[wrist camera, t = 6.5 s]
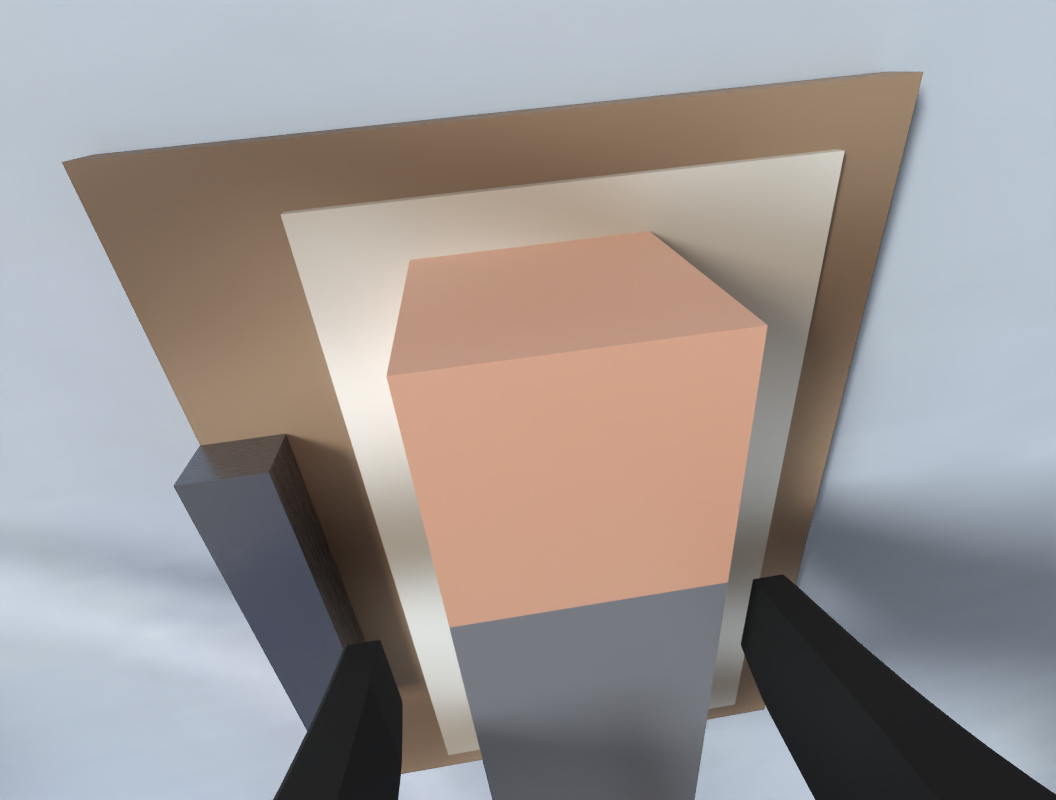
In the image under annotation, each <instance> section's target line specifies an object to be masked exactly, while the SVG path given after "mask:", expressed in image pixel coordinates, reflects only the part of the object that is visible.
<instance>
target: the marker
mask: <svg viewBox="0 0 1056 800" xmlns="http://www.w3.org/2000/svg"><path fill="white" fill-rule="evenodd" d="M767 327H768V325H767V324H765V323H764V322H763V321H762V320H760V319H759V318H758V317H757V316H755V315H754V314H753V313H752V312H750V311H749V310H748V309H747V308H745V307H744V306H743V305H742V304H740V303H739V302H738V301H737V300H735V299H734V298H733V297H732V296H730V295H729V294H728V293H726V292H725V291H724V290H723V289H721V288H720V287H719V286H718V285H716V284H715V283H714V282H713V281H711V280H710V279H709V278H708V277H706V276H705V275H704V274H703V273H701V272H700V271H699V270H698V269H696V268H695V267H694V266H693V265H691V264H690V263H689V262H688V261H686V260H685V259H684V258H683V257H681V256H680V255H679V254H678V253H676V252H675V251H674V250H673V249H671V248H670V247H669V246H668V245H666V244H665V243H664V242H663V241H661V240H660V239H659V238H657V237H656V236H655V235H654V234H652V233H651V232H650V231H645V232H637V233H629V234H620V235H612V236H604V237H596V238H587V239H579V240H571V241H562V242H554V243H546V244H537V245H529V246H521V247H513V248H504V249H496V250H488V251H479V252H471V253H463V254H455V255H446V256H438V257H430V258H421V259H413V260H410V261H409V266H408V271H407V276H406V281H405V286H404V291H403V296H402V301H401V306H400V311H399V316H398V321H397V326H396V331H395V336H394V341H393V346H392V351H391V356H390V361H389V365H388V370H387V375H386V377H387V381H388V385H389V389H390V393H391V397H392V401H393V405H394V409H395V413H396V417H397V421H398V425H399V429H400V433H401V437H402V441H403V445H404V449H405V453H406V457H407V461H408V465H409V469H410V473H411V477H412V481H413V485H414V488H415V492H416V496H417V500H418V504H419V508H420V512H421V516H422V520H423V524H424V528H425V532H426V536H427V540H428V544H429V548H430V552H431V556H432V560H433V564H434V568H435V572H436V576H437V580H438V584H439V588H440V592H441V596H442V600H443V604H444V608H445V612H446V616H447V620H448V624H449V628H450V632H451V636H452V640H453V644H454V648H455V652H456V656H457V660H458V664H459V668H460V672H461V676H462V680H463V684H464V688H465V692H466V696H467V700H468V704H469V708H470V712H471V716H472V720H473V724H474V728H475V732H476V736H477V740H478V744H479V748H480V752H481V756H482V760H483V764H484V768H485V772H486V776H487V780H488V784H489V788H490V792H491V796H492V800H694V799H695V793H696V786H697V780H698V773H699V767H700V760H701V754H702V747H703V741H704V734H705V728H706V721H707V715H708V708H709V702H710V695H711V689H712V683H713V676H714V670H715V663H716V657H717V650H718V644H719V637H720V631H721V624H722V618H723V611H724V605H725V598H726V592H727V585H728V579H729V573H730V566H731V560H732V553H733V547H734V540H735V534H736V527H737V521H738V514H739V508H740V501H741V495H742V488H743V482H744V475H745V469H746V463H747V456H748V450H749V443H750V437H751V430H752V424H753V417H754V411H755V404H756V398H757V391H758V385H759V378H760V372H761V365H762V359H763V353H764V346H765V340H766V333H767Z"/></svg>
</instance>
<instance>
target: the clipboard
mask: <svg viewBox="0 0 1056 800" xmlns="http://www.w3.org/2000/svg"><path fill="white" fill-rule="evenodd" d="M922 75H923V72H881V73H871V74H862V75H852V76H842V77H833V78H823V79H814V80H804V81H795V82H785V83H775V84H766V85H756V86H747V87H737V88H728V89H718V90H708V91H699V92H689V93H680V94H670V95H661V96H651V97H641V98H632V99H622V100H613V101H603V102H594V103H584V104H575V105H565V106H555V107H546V108H536V109H527V110H517V111H508V112H498V113H488V114H479V115H469V116H460V117H450V118H441V119H431V120H421V121H412V122H402V123H393V124H383V125H374V126H364V127H354V128H345V129H335V130H326V131H316V132H307V133H297V134H287V135H278V136H268V137H259V138H249V139H240V140H230V141H221V142H211V143H201V144H192V145H182V146H173V147H163V148H154V149H144V150H134V151H125V152H115V153H106V154H96V155H90V156H86V157H82V158H77V159H73V160H69V161H65V162H62V163H63V165H64V168H65V170H66V172H67V174H68V176H69V178H70V180H71V182H72V184H73V186H74V188H75V190H76V192H77V194H78V196H79V198H80V200H81V202H82V204H83V206H84V208H85V211H86V213H87V215H88V217H89V219H90V221H91V223H92V225H93V227H94V229H95V231H96V233H97V235H98V237H99V239H100V241H101V243H102V245H103V247H104V249H105V251H106V253H107V256H108V258H109V260H110V262H111V264H112V266H113V268H114V270H115V272H116V274H117V276H118V278H119V280H120V282H121V284H122V286H123V288H124V290H125V292H126V294H127V296H128V298H129V301H130V303H131V305H132V307H133V309H134V311H135V313H136V315H137V317H138V319H139V321H140V323H141V325H142V327H143V329H144V331H145V333H146V335H147V337H148V339H149V341H150V343H151V346H152V348H153V350H154V352H155V354H156V356H157V358H158V360H159V362H160V364H161V366H162V368H163V370H164V372H165V374H166V376H167V378H168V380H169V382H170V384H171V386H172V389H173V391H174V393H175V395H176V397H177V399H178V401H179V403H180V405H181V407H182V409H183V411H184V413H185V415H186V417H187V419H188V421H189V423H190V425H191V427H192V429H193V431H194V434H195V436H196V438H197V440H198V442H199V444H200V447H199V448H198V450H197V451H196V453H195V454H194V456H193V457H192V459H191V460H190V462H189V463H188V465H187V466H186V468H185V469H184V471H183V472H182V474H181V475H180V477H179V478H178V480H177V481H176V483H175V484H174V488H175V490H176V492H177V493H178V495H179V497H180V499H181V501H182V503H183V504H184V506H185V508H186V510H187V512H188V514H189V515H190V517H191V519H192V521H193V523H194V524H195V526H196V528H197V530H198V532H199V534H200V535H201V537H202V539H203V541H204V543H205V545H206V546H207V548H208V550H209V552H210V554H211V556H212V557H213V559H214V561H215V563H216V565H217V567H218V568H219V570H220V572H221V574H222V576H223V578H224V579H225V581H226V583H227V585H228V587H229V589H230V590H231V592H232V594H233V596H234V598H235V600H236V601H237V603H238V605H239V607H240V609H241V611H242V612H243V614H244V616H245V618H246V620H247V622H248V623H249V625H250V627H251V629H252V631H253V633H254V634H255V636H256V638H257V640H258V642H259V643H260V645H261V647H262V649H263V651H264V653H265V654H266V656H267V658H268V660H269V662H270V664H271V665H272V667H273V669H274V671H275V673H276V675H277V676H278V678H279V680H280V682H281V684H282V686H283V687H284V689H285V691H286V693H287V695H288V697H289V698H290V700H291V702H292V704H293V706H294V708H295V709H296V711H297V713H298V715H299V717H300V719H301V720H302V722H303V724H304V726H305V728H306V730H307V731H308V729H309V727H310V725H311V723H312V720H313V718H314V716H315V714H316V712H317V710H318V707H319V705H320V703H321V701H322V698H323V696H324V694H325V692H326V689H327V687H328V685H329V682H330V680H331V678H332V675H333V673H334V671H335V668H336V666H337V663H338V661H339V658H340V656H341V653H342V651H343V649H344V648H345V647H346V646H347V645H352V644H358V643H364V642H370V641H377V640H380V641H381V643H382V646H383V649H384V652H385V654H386V657H387V660H388V663H389V666H390V668H391V671H392V674H393V677H394V679H395V682H396V685H397V688H398V691H399V693H400V696H401V699H402V702H403V732H402V767H401V774H404V773H410V772H416V771H421V770H427V769H432V768H438V767H444V766H449V765H455V764H460V763H466V762H472V761H477V760H482V756H481V752H480V748H479V744H478V740H477V736H476V732H475V728H474V724H473V720H472V716H471V712H470V708H469V704H468V700H467V696H466V692H465V688H464V684H463V680H462V676H461V672H460V668H459V664H458V660H457V656H456V652H455V648H454V644H453V640H452V636H451V632H450V628H449V624H448V620H447V616H446V612H445V608H444V604H443V600H442V596H441V592H440V588H439V584H438V580H437V576H436V572H435V568H434V564H433V560H432V556H431V552H430V548H429V544H428V540H427V536H426V532H425V528H424V524H423V520H422V516H421V512H420V508H419V504H418V500H417V496H416V492H415V488H414V485H413V481H412V477H411V473H410V469H409V465H408V461H407V457H406V453H405V449H404V445H403V441H402V437H401V433H400V429H399V425H398V421H397V417H396V413H395V409H394V405H393V401H392V397H391V393H390V389H389V385H388V381H387V377H386V375H387V370H388V365H389V361H390V356H391V351H392V346H393V341H394V336H395V331H396V326H397V321H398V316H399V311H400V306H401V301H402V296H403V291H404V286H405V281H406V276H407V271H408V266H409V261H410V260H413V259H421V258H430V257H438V256H446V255H455V254H463V253H471V252H479V251H488V250H496V249H504V248H513V247H521V246H529V245H537V244H546V243H554V242H562V241H571V240H579V239H587V238H596V237H604V236H612V235H620V234H629V233H637V232H645V231H650V232H651V233H652V234H654V235H655V236H656V237H657V238H659V239H660V240H661V241H663V242H664V243H665V244H666V245H668V246H669V247H670V248H671V249H673V250H674V251H675V252H676V253H678V254H679V255H680V256H681V257H683V258H684V259H685V260H686V261H688V262H689V263H690V264H691V265H693V266H694V267H695V268H696V269H698V270H699V271H700V272H701V273H703V274H704V275H705V276H706V277H708V278H709V279H710V280H711V281H713V282H714V283H715V284H716V285H718V286H719V287H720V288H721V289H723V290H724V291H725V292H726V293H728V294H729V295H730V296H732V297H733V298H734V299H735V300H737V301H738V302H739V303H740V304H742V305H743V306H744V307H745V308H747V309H748V310H749V311H750V312H752V313H753V314H754V315H755V316H757V317H758V318H759V319H760V320H762V321H763V322H764V323H765V324H767V325H768V327H767V333H766V340H765V346H764V353H763V359H762V365H761V372H760V378H759V385H758V391H757V398H756V404H755V411H754V417H753V424H752V430H751V437H750V443H749V450H748V456H747V463H746V469H745V475H744V482H743V488H742V495H741V501H740V508H739V514H738V521H737V527H736V534H735V540H734V547H733V553H732V560H731V566H730V573H729V579H728V585H727V592H726V598H725V605H724V611H723V618H722V624H721V631H720V637H719V644H718V650H717V657H716V663H715V670H714V676H713V683H712V689H711V695H710V702H709V708H708V715H707V719H713V718H718V717H724V716H730V715H735V714H741V713H746V712H752V711H758V710H763V709H764V708H765V703H764V701H763V699H762V697H761V695H760V692H759V690H758V687H757V685H756V683H755V680H754V678H753V675H752V673H751V670H750V668H749V665H748V663H747V660H746V657H745V655H744V652H743V650H742V647H741V640H742V635H743V629H744V624H745V619H746V613H747V608H748V603H749V598H750V592H751V587H752V582H753V579H757V578H764V577H770V576H776V575H782V574H783V575H785V576H786V577H787V578H788V579H789V580H791V581H792V582H793V583H794V584H795V583H796V579H797V575H798V571H799V567H800V563H801V559H802V555H803V551H804V547H805V543H806V539H807V535H808V531H809V527H810V523H811V519H812V515H813V511H814V507H815V503H816V499H817V495H818V491H819V487H820V483H821V479H822V475H823V471H824V467H825V463H826V459H827V455H828V451H829V447H830V443H831V439H832V435H833V431H834V427H835V423H836V419H837V415H838V411H839V407H840V403H841V399H842V395H843V391H844V387H845V383H846V379H847V375H848V371H849V367H850V363H851V359H852V355H853V351H854V347H855V343H856V339H857V335H858V331H859V327H860V323H861V319H862V315H863V311H864V307H865V303H866V299H867V295H868V291H869V287H870V283H871V279H872V275H873V271H874V267H875V263H876V259H877V255H878V251H879V247H880V243H881V239H882V235H883V231H884V227H885V223H886V219H887V215H888V211H889V207H890V203H891V199H892V195H893V191H894V187H895V183H896V179H897V175H898V171H899V167H900V163H901V159H902V155H903V151H904V147H905V143H906V139H907V135H908V131H909V127H910V123H911V119H912V115H913V111H914V107H915V103H916V99H917V95H918V91H919V87H920V83H921V79H922Z"/></svg>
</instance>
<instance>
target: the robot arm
mask: <svg viewBox="0 0 1056 800" xmlns="http://www.w3.org/2000/svg"><path fill="white" fill-rule="evenodd" d="M741 647H742V650H743V652H744V655H745V657H746V660H747V663H748V665H749V668H750V670H751V673H752V675H753V678H754V680H755V683H756V685H757V687H758V690H759V692H760V695H761V697H762V699H763V701H764V703H765V705H766V707H767V709H768V711H769V713H770V715H771V717H772V719H773V721H774V723H775V725H776V726H777V728H778V730H779V732H780V734H781V736H782V738H783V740H784V742H785V744H786V745H787V747H788V749H789V751H790V753H791V755H792V757H793V759H794V761H795V762H796V764H797V766H798V768H799V770H800V772H801V774H802V776H803V777H804V779H805V781H806V783H807V785H808V787H809V789H810V791H811V792H812V794H813V796H814V798H815V800H1056V794H1054V793H1053V792H1051V791H1050V790H1048V789H1047V788H1046V787H1044V786H1043V785H1041V784H1040V783H1038V782H1037V781H1035V780H1034V779H1032V778H1031V777H1030V776H1028V775H1027V774H1025V773H1024V772H1023V771H1021V770H1020V769H1018V768H1017V767H1016V766H1014V765H1013V764H1011V763H1010V762H1009V761H1007V760H1006V759H1004V758H1003V757H1002V756H1000V755H999V754H998V753H996V752H995V751H993V750H992V749H991V748H989V747H988V746H987V745H985V744H984V743H983V742H981V741H980V740H979V739H977V738H976V737H975V736H973V735H972V734H971V733H969V732H968V731H967V730H965V729H964V728H963V727H962V726H960V725H959V724H958V723H956V722H955V721H954V720H953V719H951V718H950V717H949V716H947V715H946V714H945V713H944V712H942V711H941V710H940V709H939V708H937V707H936V706H935V705H934V704H932V703H931V702H930V701H928V700H927V699H926V698H925V697H924V696H922V695H921V694H920V693H919V692H917V691H916V690H915V689H914V688H912V687H911V686H910V685H909V684H908V683H906V682H905V681H904V680H903V679H902V678H900V677H899V676H898V675H897V674H896V673H895V672H893V671H892V670H891V669H890V668H889V667H887V666H886V665H885V664H884V663H883V662H882V661H880V660H879V659H878V658H877V657H876V656H874V655H873V654H872V653H871V652H870V651H869V650H867V649H866V648H865V647H864V646H863V645H862V644H861V643H859V642H858V641H857V640H856V639H855V638H854V637H853V636H851V635H850V634H849V633H848V632H847V631H846V630H845V629H844V628H842V627H841V626H840V625H839V624H838V623H837V622H836V621H835V620H834V619H832V618H831V617H830V616H829V615H828V614H827V613H826V612H825V611H824V610H822V609H821V608H820V607H819V606H818V605H817V604H816V603H815V602H814V601H813V600H811V599H810V598H809V597H808V596H807V595H806V594H805V593H804V592H803V591H802V590H801V589H799V588H798V587H797V586H796V585H795V584H794V583H793V582H792V581H791V580H789V579H788V578H787V577H786V576H785V575H783V574H782V575H776V576H770V577H764V578H757V579H753V582H752V587H751V592H750V598H749V603H748V608H747V613H746V619H745V624H744V629H743V635H742V640H741ZM402 732H403V702H402V699H401V696H400V693H399V691H398V688H397V685H396V682H395V679H394V677H393V674H392V671H391V668H390V666H389V663H388V660H387V657H386V654H385V652H384V649H383V646H382V643H381V641H380V640H377V641H370V642H364V643H358V644H352V645H347V646H346V647H345V648H344V649H343V651H342V653H341V656H340V658H339V661H338V663H337V666H336V668H335V671H334V673H333V675H332V678H331V680H330V682H329V685H328V687H327V689H326V692H325V694H324V696H323V698H322V701H321V703H320V705H319V707H318V710H317V712H316V714H315V716H314V718H313V720H312V723H311V725H310V727H309V729H308V731H307V733H306V735H305V737H304V739H303V741H302V743H301V745H300V748H299V750H298V752H297V754H296V756H295V758H294V760H293V762H292V764H291V766H290V768H289V770H288V772H287V774H286V776H285V778H284V780H283V782H282V784H281V786H280V788H279V790H278V792H277V794H276V795H275V797H274V799H273V800H398V795H399V786H400V776H401V767H402Z"/></svg>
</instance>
